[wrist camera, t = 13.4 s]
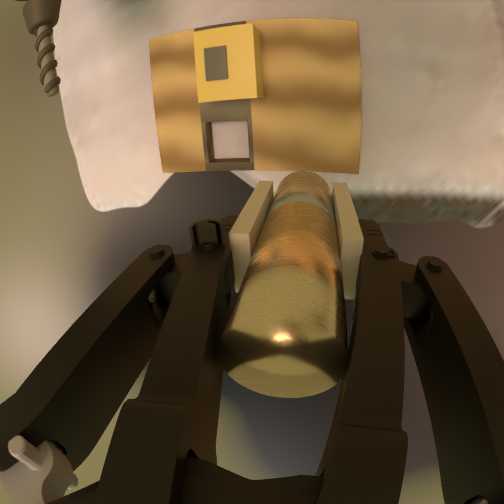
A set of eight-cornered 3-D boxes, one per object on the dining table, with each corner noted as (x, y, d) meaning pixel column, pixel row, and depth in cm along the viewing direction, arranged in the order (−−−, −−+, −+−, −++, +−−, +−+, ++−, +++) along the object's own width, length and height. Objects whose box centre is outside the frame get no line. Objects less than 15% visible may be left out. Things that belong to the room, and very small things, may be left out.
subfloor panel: (157, 41, 28) (149, 39, 26) (354, 25, 23) (357, 21, 21) (169, 168, 37) (162, 173, 35) (356, 169, 32) (358, 174, 30)
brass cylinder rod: (275, 170, 17) (207, 311, 6) (333, 172, 16) (360, 321, 6) (276, 222, 18) (226, 390, 8) (330, 225, 18) (337, 400, 8)
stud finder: (206, 37, 25) (192, 31, 22) (259, 31, 24) (251, 22, 20) (211, 101, 29) (197, 103, 26) (263, 97, 28) (256, 98, 25)
